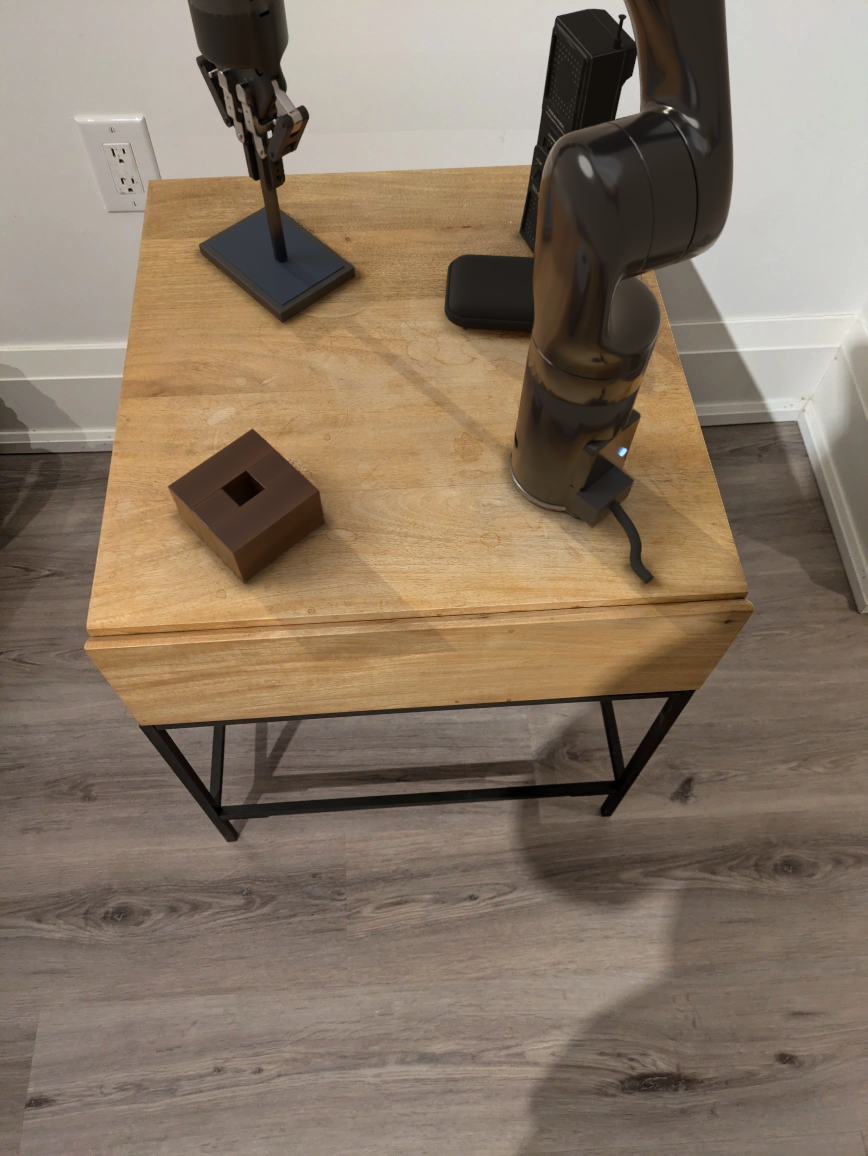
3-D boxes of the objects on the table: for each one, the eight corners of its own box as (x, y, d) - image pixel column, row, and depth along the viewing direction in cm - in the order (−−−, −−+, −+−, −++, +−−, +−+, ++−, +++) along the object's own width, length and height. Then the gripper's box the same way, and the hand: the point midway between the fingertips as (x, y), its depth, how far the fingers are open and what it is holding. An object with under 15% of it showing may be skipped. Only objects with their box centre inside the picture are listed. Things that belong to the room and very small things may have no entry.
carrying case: (442, 342, 86) (587, 351, 85) (442, 319, 83) (592, 328, 83) (448, 268, 91) (585, 277, 91) (449, 245, 88) (590, 253, 88)
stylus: (290, 257, 89) (270, 132, 77) (279, 264, 89) (257, 139, 76) (281, 250, 90) (260, 125, 77) (270, 256, 89) (247, 131, 77)
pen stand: (325, 522, 75) (319, 490, 71) (244, 583, 72) (232, 553, 68) (262, 462, 78) (252, 427, 74) (181, 518, 75) (167, 486, 71)
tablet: (355, 276, 90) (354, 266, 89) (282, 322, 87) (280, 313, 86) (273, 211, 95) (271, 201, 94) (200, 253, 91) (197, 243, 90)
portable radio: (511, 229, 94) (540, -18, 72) (559, 215, 95) (602, -32, 73) (543, 275, 91) (583, 30, 69) (593, 260, 92) (648, 15, 70)
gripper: (142, -34, 67) (193, 164, 82) (249, 39, 62) (282, 235, 78) (219, -67, 70) (254, 132, 85) (326, 2, 65) (343, 198, 80)
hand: (267, 180), depth 81 cm, fingers closed on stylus, 1 cm apart
